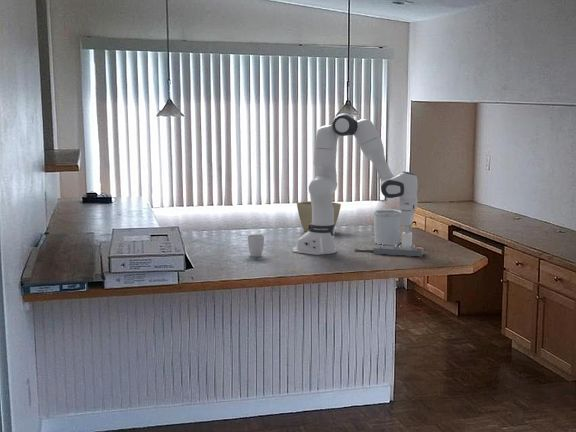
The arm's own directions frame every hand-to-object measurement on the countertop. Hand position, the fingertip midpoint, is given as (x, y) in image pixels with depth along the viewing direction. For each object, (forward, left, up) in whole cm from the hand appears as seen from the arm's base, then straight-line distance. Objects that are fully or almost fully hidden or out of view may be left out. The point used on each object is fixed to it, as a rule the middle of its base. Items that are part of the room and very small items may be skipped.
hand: (408, 231), depth 355 cm
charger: (-1, 0, -9) cm, 9 cm away
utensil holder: (-15, +26, -12) cm, 32 cm away
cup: (-72, -26, -12) cm, 77 cm away
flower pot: (-59, +48, -12) cm, 77 cm away
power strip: (-10, 0, -12) cm, 15 cm away
